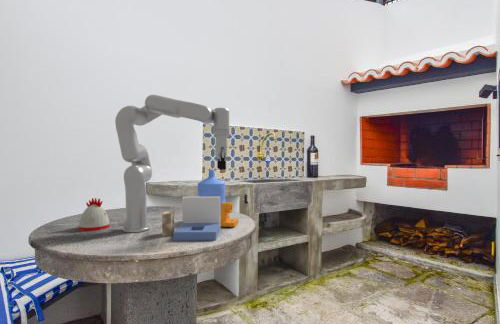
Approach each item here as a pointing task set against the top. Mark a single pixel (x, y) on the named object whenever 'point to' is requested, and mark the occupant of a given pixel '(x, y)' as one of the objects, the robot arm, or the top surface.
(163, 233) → the tan wooden pillar
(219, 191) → the water jug
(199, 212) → the blue base grey panel
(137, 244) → the top surface
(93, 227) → the cream red beanie hat
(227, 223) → the bracket
